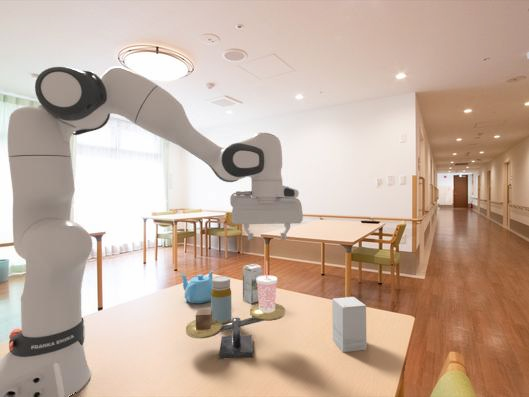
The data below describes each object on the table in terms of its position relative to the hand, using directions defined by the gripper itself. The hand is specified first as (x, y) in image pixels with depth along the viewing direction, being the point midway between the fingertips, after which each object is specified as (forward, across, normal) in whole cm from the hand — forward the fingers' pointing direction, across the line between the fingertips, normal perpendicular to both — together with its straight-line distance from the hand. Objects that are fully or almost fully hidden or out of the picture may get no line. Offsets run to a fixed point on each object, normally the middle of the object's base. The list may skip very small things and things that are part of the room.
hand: (267, 239), depth 80 cm
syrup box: (+31, -3, +36) cm, 48 cm away
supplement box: (+31, +24, 0) cm, 39 cm away
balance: (+31, -9, 0) cm, 32 cm away
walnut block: (+24, -18, 0) cm, 30 cm away
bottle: (+31, -14, +18) cm, 39 cm away
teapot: (+31, -24, +41) cm, 57 cm away
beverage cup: (+20, 0, 0) cm, 20 cm away
